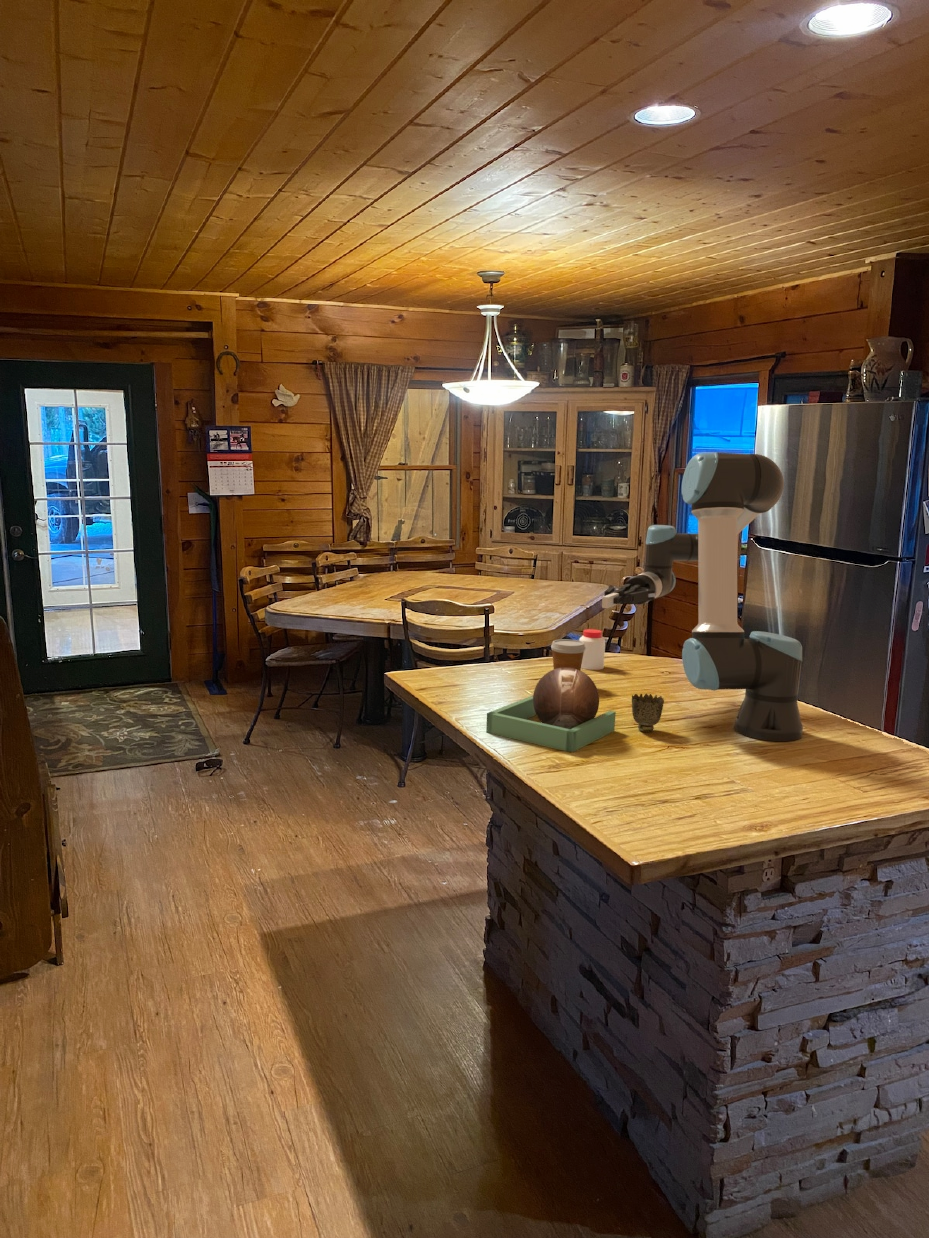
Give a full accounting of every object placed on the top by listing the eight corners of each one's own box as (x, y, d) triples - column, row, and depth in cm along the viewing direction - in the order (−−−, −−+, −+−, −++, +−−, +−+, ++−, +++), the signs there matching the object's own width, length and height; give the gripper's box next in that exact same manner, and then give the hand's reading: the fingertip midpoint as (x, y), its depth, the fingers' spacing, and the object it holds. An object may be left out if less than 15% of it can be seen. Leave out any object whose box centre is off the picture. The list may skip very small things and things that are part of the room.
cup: (661, 736, 209) (664, 702, 207) (629, 733, 210) (631, 700, 209) (661, 727, 216) (664, 694, 214) (629, 724, 217) (632, 691, 216)
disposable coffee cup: (543, 681, 256) (545, 639, 253) (575, 680, 258) (577, 638, 256) (557, 690, 247) (559, 646, 245) (589, 688, 250) (591, 645, 247)
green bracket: (532, 712, 225) (533, 695, 224) (614, 730, 212) (615, 711, 211) (486, 732, 208) (486, 713, 207) (572, 752, 196) (573, 732, 195)
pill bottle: (607, 666, 276) (609, 630, 275) (597, 671, 270) (599, 634, 268) (584, 662, 280) (586, 627, 279) (573, 667, 274) (575, 631, 272)
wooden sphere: (540, 742, 202) (543, 676, 199) (525, 722, 216) (527, 660, 213) (605, 741, 204) (609, 675, 201) (586, 721, 219) (589, 660, 216)
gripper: (665, 604, 239) (629, 620, 219) (619, 600, 246) (580, 615, 226) (666, 576, 237) (630, 589, 218) (620, 572, 244) (580, 585, 225)
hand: (604, 602), depth 222 cm, fingers closed
